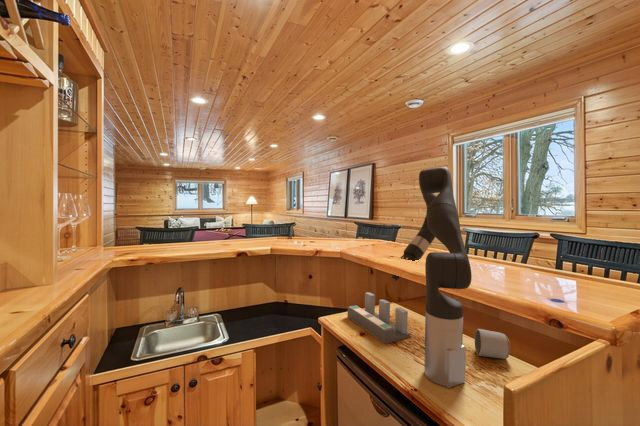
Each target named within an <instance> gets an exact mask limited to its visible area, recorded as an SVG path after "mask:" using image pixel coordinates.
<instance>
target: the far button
mask: <svg viewBox="0 0 640 426" xmlns="http://www.w3.org/2000/svg"><path fill="white" fill-rule="evenodd" d="M375 303H376V294H374V293H371V292H370V291H369V292H368V291H367V292H365V293H364V310H365V311H366V312H368V313H369V314H374V313H376V312H375V309H376V307H375V306H376V304H375Z"/></svg>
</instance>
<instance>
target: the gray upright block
mask: <svg viewBox="0 0 640 426" xmlns="http://www.w3.org/2000/svg"><path fill="white" fill-rule="evenodd" d="M378 315H379V320H381V321H383V322H384V323H389V322H391V302H390V301H388V300H386V299H379V300H378Z"/></svg>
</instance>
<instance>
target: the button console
mask: <svg viewBox="0 0 640 426" xmlns="http://www.w3.org/2000/svg"><path fill="white" fill-rule="evenodd" d="M347 318H348V319H349V320H351V321H352V322H353V323H355V324H357V325H358V326H359V327H361V328H362V329H364V330H365V331H366V332H368V333H369V334H371V335H372V336H373V337H375V338H376V339H377V340H379V341H381V342H382V343H383V344H388V343H392V342H396V341H400V340H404V339H409V338H411V336H412V335H411V333H410V332H409V331H407V333H404V334H402V333H401V332H399V331H397V330H396V329H395V323H394V322H391V321H390V322H389V323H384V322H383V321H381V320H379V313H376V312H375V313H374V314H369V313H368V312H366V311H365V309H363V308H361V307H360V306H358V305H356V304H355V305H350V306H347Z"/></svg>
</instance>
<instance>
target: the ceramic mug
mask: <svg viewBox="0 0 640 426" xmlns="http://www.w3.org/2000/svg"><path fill="white" fill-rule="evenodd" d="M474 350H475V352H476V355H477V356H479V357H487V358H495V359H501V360H503V359H504V360H505V359H507V358H509V356H510V354H511V343H510V340H509V337H508V336H507V335H506V334H505V333H502V332H498V331H493V330H492V331H491V330H489V329H488V330H487V329H482V328H476V329H475V333H474Z"/></svg>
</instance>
